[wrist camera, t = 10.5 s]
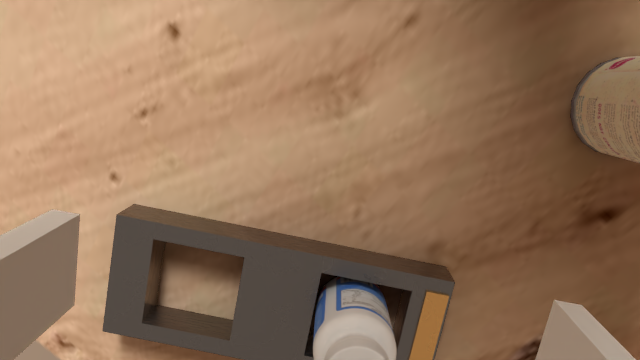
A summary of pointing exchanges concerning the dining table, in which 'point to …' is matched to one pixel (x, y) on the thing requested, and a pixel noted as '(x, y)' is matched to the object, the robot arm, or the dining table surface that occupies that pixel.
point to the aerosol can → (610, 108)
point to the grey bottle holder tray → (260, 288)
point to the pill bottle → (352, 322)
